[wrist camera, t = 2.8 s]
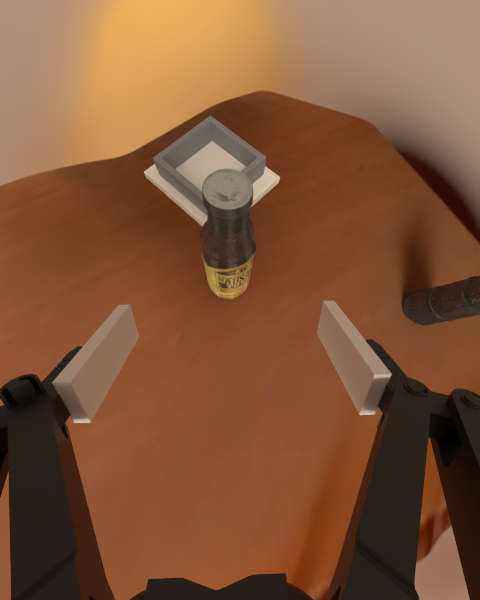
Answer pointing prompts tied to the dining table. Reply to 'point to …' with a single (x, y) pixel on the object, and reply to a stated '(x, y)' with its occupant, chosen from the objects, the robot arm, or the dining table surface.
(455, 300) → the butter churn
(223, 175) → the sauce bottle
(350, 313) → the dining table surface
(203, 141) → the bottle stand
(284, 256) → the dining table surface
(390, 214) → the dining table surface
